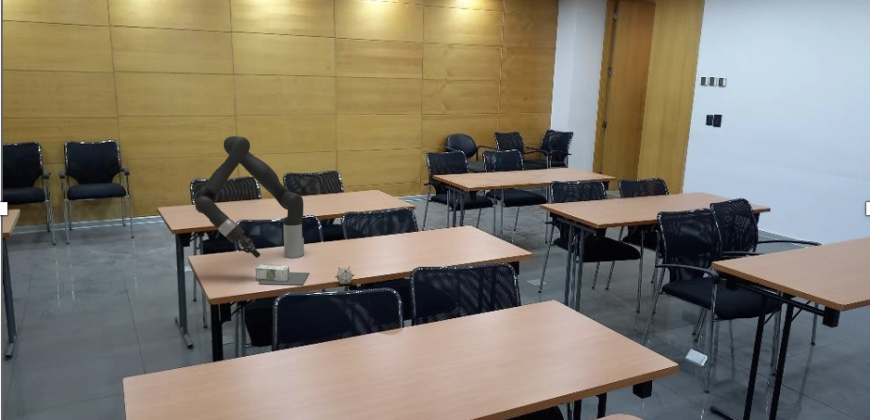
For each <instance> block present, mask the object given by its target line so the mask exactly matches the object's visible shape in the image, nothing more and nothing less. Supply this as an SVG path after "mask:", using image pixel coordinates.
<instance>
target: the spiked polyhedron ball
mask: <svg viewBox="0 0 870 420" xmlns="http://www.w3.org/2000/svg"><path fill="white" fill-rule="evenodd" d="M350 267H351V266H349V267H345V268H340V267H338V271H337V274H336V276H334V278H335V279H337V281H338V283H339V287H340V286H341V285H348V284H349V285H351V286H352V283H351V282H352V280H353V277H354V276H355V275H356V274H353V273H352V271H351V269H350Z"/></svg>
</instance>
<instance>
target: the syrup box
mask: <svg viewBox="0 0 870 420" xmlns="http://www.w3.org/2000/svg"><path fill="white" fill-rule="evenodd" d="M290 272H291V271H290V265H282V264H268V263H267V264H266V263H265V264H263V263H260V264H258V265H257V266H255V279H256V280H257V281H261V280H272V281H286V280H288V279H289V277H290Z"/></svg>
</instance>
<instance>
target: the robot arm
mask: <svg viewBox="0 0 870 420" xmlns="http://www.w3.org/2000/svg"><path fill="white" fill-rule="evenodd" d="M223 148H224V151H225V152H226V154H227V155H228V156H227V158H226V159H225V160H224V161H223V163H221V164H220V166H219V167H218V168H216V169H215V171H214V172H212V174H211V176H210V177H209V179H208V180H207V182H206V184H205V186H204V188H203V191H202V192H201V194H200V195H199V197H197V199H196V200H195V205H194V207H195V210H196V211H197V212H198V213H199V214H202V215H204V216H205V217H206V218H207V219H209V222H210V223H211V224H212V225H213V226H214V227H215V228H216V229H217V230H218V231H219V232H220V233H221V234H222V235H223V236H224V237H226V239H227V240H228V241H230V243H232V244H233V243H234V242H235V243H236V244H237V245H238V246H239V247H238V249H239V250H240V251H242V252H244V253H246V254H252V256H254V257H255V258H256V259H258V258H259V257H260V256H261V255H262V254H261V253H260V252H259V251H258V250H257V249H256V245H255V243H254V242H253V239H252V238H251V237H247V236H246V235H245V234H244V233H245V231H244V229H242V227H240V225H238V224H237V223H236V222H235V221H234V220H233V219H231V218H230V217H229V216H228V215H227V214H226V213H225V212H223V210H221V208H219V206H218V205H217V204H216V200H217V198H218V197H219V195H220V194H221V192H222V190H223V188H224V186H225V185H226V183H227V181H228V180H229V178H230V177H231V176H232V174H233V173H234V171H235V170H236V168H238V166H239V165H241V166H242V167H243V168H244V169H245V170H246V171H247V172H248V173H249V174H250V175H251V177H252V178H253V179H255V181H256V182H257V183H259V185H261V187H263V188H264V189H265V190H266V191H267V192H268V193H269V194H271V195H272V197H273V198H274V199H275V200H276V201H277V203H278V204H279V205H280V207H282V208H283V209H284V210H286V211H287V216H286V217H284V218H283V244H284V246H283V250H284V251H283V252H284V253H283V254H284V255H283V256H284V257H285V258H288V259H296V258H301V257H303V256H305V244H304V243H305V237H303V226H302V225H303V218H304V199H303V196H302V195H300V194H298V193H296V192H292V191H290V190H289V189H287V188H286V187H285V186H284V185H283V184H282V183H281V181H280V178H279V176H278V174H277V173H276V172H275V171H274V169H273V168H271V166H270V165H269V164H268V163H266V162H265V161H263V160H262V159H260V158H258V157H256V156H255V155H253V154H252V153H251V152H250V150H251V145H250V141H249V139H248V138H246V137H244V136H237V135H235V136H234V135H233V136H232V135H230V136H228V137H226V138H225V139H224V140H223Z"/></svg>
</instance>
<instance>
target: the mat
mask: <svg viewBox="0 0 870 420" xmlns="http://www.w3.org/2000/svg"><path fill="white" fill-rule="evenodd" d="M289 272H290V277H289V279H288V280H286V281H272V280H259V282H258V285H263V286H265V285H266V286H300V287H301V286H302V287H303V286H304V284H305V282H306V281H307V279H308V277H309V275H310V272H298V271H297V272H295V271H293V272H291V271H289Z"/></svg>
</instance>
